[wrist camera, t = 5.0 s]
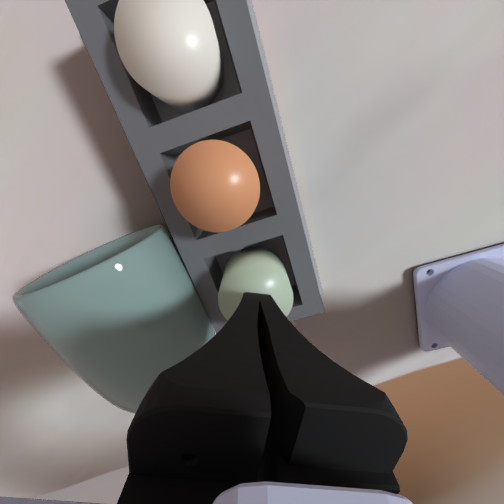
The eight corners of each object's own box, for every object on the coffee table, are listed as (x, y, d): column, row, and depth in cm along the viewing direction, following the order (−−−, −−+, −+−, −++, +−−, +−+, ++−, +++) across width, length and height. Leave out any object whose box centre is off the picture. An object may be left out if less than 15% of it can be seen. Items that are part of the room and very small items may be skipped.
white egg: (207, 4, 11) (192, -48, 9) (234, 97, 13) (229, 77, 10) (132, 36, 12) (94, -4, 9) (166, 122, 13) (142, 111, 10)
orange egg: (245, 134, 12) (243, 125, 10) (267, 206, 14) (270, 217, 11) (176, 159, 13) (154, 157, 10) (203, 227, 14) (191, 242, 11)
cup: (103, 459, 13) (-39, 322, 10) (147, 355, 20) (75, 255, 17) (233, 410, 13) (136, 251, 9) (230, 322, 20) (175, 214, 17)
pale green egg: (276, 238, 14) (282, 256, 12) (292, 292, 16) (301, 320, 13) (215, 256, 15) (206, 278, 12) (235, 308, 16) (232, 338, 13)
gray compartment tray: (239, -38, 12) (235, -113, 9) (320, 288, 18) (335, 315, 15) (93, 26, 13) (40, -20, 10) (219, 316, 19) (213, 346, 16)
